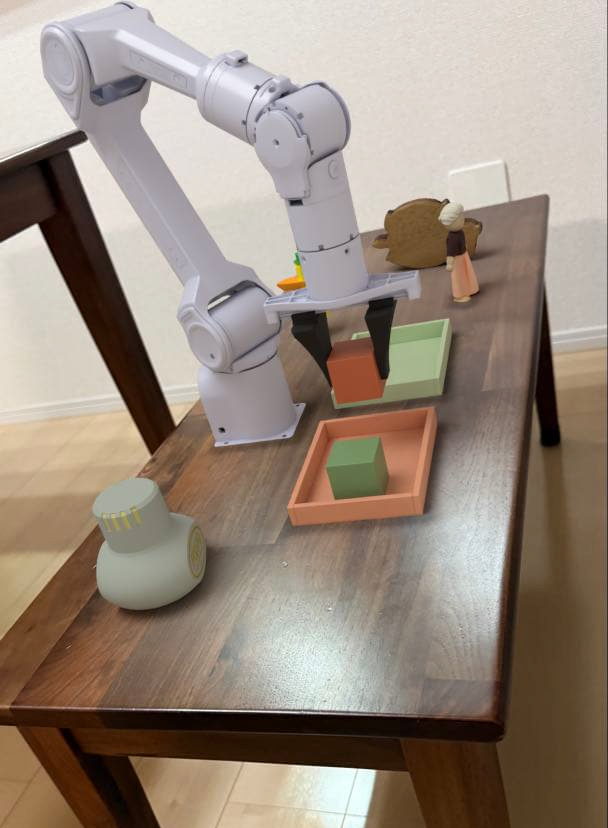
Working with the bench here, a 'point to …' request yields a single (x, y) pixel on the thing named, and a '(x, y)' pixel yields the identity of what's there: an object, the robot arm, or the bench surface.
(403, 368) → the sage tray
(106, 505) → the air freshener
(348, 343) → the terracotta block
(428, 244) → the wooden carving
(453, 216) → the grandmother figurine
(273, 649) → the bench surface
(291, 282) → the toy figure
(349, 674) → the bench surface
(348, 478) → the sage block
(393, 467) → the terracotta tray
